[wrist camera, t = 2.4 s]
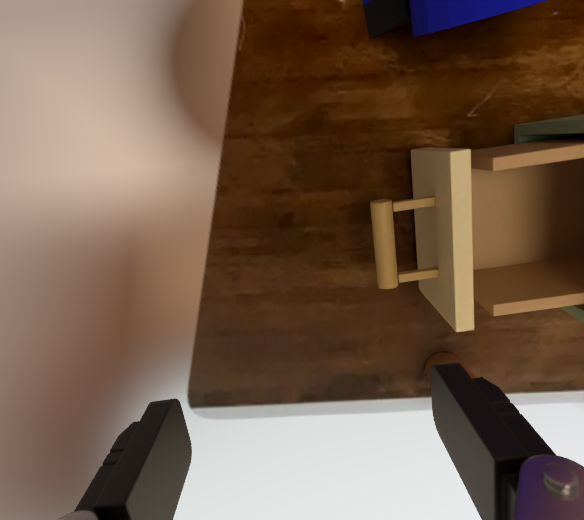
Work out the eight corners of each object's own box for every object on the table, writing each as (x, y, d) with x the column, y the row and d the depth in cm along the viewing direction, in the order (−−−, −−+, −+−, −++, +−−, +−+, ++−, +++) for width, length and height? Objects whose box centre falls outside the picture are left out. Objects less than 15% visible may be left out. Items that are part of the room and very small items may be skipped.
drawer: (368, 296, 33) (390, 341, 26) (354, 158, 30) (375, 163, 22) (583, 266, 32) (671, 304, 25) (592, 121, 29) (696, 114, 22)
